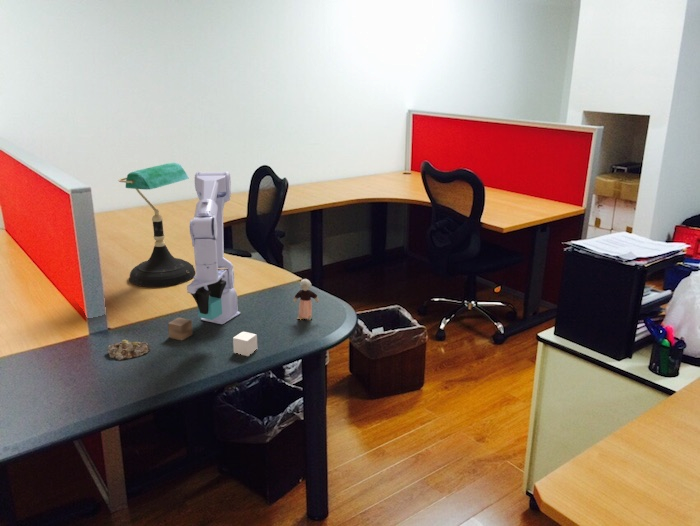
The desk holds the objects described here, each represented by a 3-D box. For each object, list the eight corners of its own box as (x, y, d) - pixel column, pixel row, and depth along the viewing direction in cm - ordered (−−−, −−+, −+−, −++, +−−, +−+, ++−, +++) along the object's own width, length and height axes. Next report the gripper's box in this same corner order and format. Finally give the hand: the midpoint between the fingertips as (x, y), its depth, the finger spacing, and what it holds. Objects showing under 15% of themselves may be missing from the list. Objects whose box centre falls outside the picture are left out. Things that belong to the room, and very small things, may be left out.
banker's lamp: (168, 292, 198) (156, 174, 186) (112, 284, 205) (97, 170, 193) (210, 268, 222) (202, 162, 210) (158, 262, 229) (148, 159, 217)
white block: (243, 346, 160) (242, 331, 158) (257, 349, 158) (256, 334, 157) (233, 353, 156) (232, 337, 155) (248, 356, 154) (247, 341, 153)
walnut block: (180, 331, 169) (178, 317, 167) (192, 334, 167) (191, 320, 165) (169, 337, 165) (167, 323, 163) (181, 340, 163) (180, 325, 162)
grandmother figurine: (294, 321, 175) (293, 281, 171) (293, 316, 179) (292, 277, 175) (319, 320, 176) (319, 280, 172) (318, 315, 180) (317, 276, 176)
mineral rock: (103, 354, 150) (109, 334, 157) (105, 367, 153) (111, 346, 159) (147, 353, 152) (151, 333, 158) (148, 365, 154) (153, 345, 161)
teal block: (208, 311, 162) (207, 296, 160) (222, 313, 160) (221, 298, 158) (198, 317, 158) (197, 301, 156) (212, 319, 156) (210, 304, 155)
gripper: (210, 252, 162) (214, 298, 166) (175, 267, 149) (180, 317, 154) (232, 255, 159) (235, 302, 163) (198, 271, 147) (202, 321, 151)
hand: (209, 309), depth 158 cm, fingers closed on teal block, 4 cm apart
